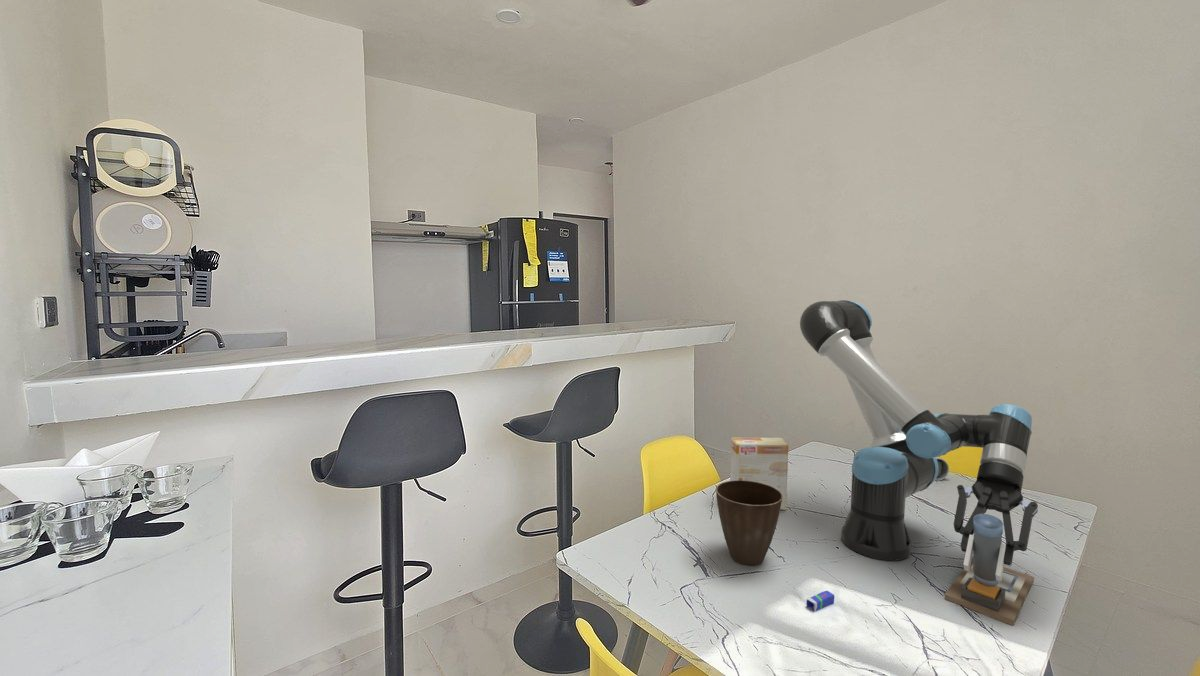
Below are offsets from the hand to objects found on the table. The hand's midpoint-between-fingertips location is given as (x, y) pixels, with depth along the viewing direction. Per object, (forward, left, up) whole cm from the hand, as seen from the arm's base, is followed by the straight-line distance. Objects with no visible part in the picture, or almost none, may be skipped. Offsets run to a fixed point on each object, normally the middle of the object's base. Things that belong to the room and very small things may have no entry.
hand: (982, 572), depth 98 cm
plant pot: (-38, +23, -8) cm, 46 cm away
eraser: (-30, +5, -9) cm, 32 cm away
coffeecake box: (-24, +51, -8) cm, 57 cm away
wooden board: (+8, +7, -8) cm, 13 cm away
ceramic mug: (+42, +69, -8) cm, 81 cm away
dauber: (+5, +4, -4) cm, 8 cm away
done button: (+3, +2, -6) cm, 7 cm away
